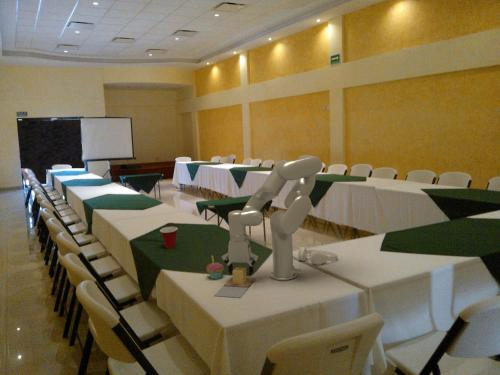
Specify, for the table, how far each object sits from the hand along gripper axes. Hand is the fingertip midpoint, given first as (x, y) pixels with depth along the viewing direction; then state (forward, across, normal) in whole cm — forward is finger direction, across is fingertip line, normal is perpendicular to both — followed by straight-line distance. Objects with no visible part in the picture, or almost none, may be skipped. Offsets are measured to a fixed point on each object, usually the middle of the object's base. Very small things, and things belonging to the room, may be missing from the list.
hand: (241, 273), depth 194 cm
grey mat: (+4, +1, +12) cm, 13 cm away
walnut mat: (+4, +1, 0) cm, 4 cm away
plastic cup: (+4, +63, -49) cm, 80 cm away
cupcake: (+4, +15, -4) cm, 16 cm away
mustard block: (+4, +1, 0) cm, 4 cm away
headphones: (+6, -30, -39) cm, 50 cm away
